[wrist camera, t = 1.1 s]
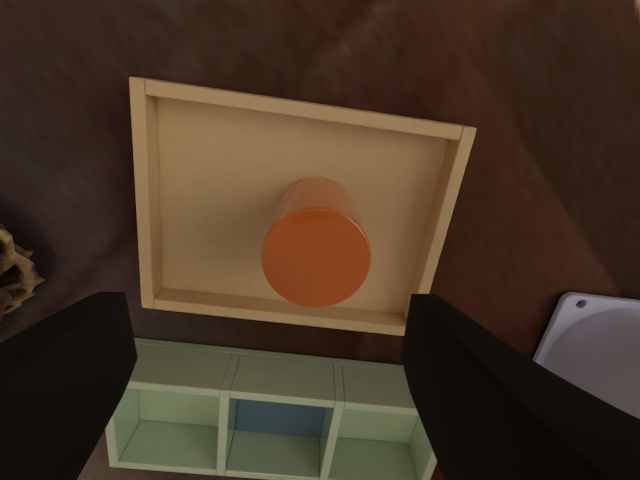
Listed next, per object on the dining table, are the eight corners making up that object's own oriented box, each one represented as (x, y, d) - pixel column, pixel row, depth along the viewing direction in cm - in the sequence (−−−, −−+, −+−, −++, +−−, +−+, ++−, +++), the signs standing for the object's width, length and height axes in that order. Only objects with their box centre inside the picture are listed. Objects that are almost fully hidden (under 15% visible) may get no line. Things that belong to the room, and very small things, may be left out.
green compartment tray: (436, 368, 22) (455, 412, 19) (411, 442, 24) (425, 492, 21) (130, 336, 21) (98, 378, 18) (136, 417, 23) (109, 467, 20)
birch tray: (462, 124, 17) (477, 128, 15) (408, 319, 21) (416, 338, 19) (146, 77, 16) (128, 76, 14) (155, 290, 20) (141, 308, 18)
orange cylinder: (363, 182, 17) (381, 216, 12) (349, 258, 19) (360, 313, 14) (279, 171, 17) (265, 201, 12) (271, 249, 18) (256, 302, 14)
